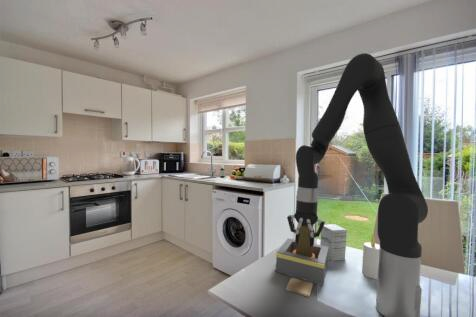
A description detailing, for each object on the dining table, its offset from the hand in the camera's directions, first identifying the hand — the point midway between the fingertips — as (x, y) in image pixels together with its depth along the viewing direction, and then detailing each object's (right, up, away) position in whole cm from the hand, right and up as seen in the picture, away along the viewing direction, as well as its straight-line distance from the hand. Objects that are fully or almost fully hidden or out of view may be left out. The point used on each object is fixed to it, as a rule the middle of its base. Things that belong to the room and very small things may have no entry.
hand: (304, 245), depth 85 cm
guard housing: (0, -9, 0) cm, 9 cm away
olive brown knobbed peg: (0, -3, 0) cm, 3 cm away
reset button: (0, -6, 0) cm, 6 cm away
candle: (+24, -10, -2) cm, 26 cm away
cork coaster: (-5, -9, -13) cm, 16 cm away
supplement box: (+15, -9, +12) cm, 21 cm away
